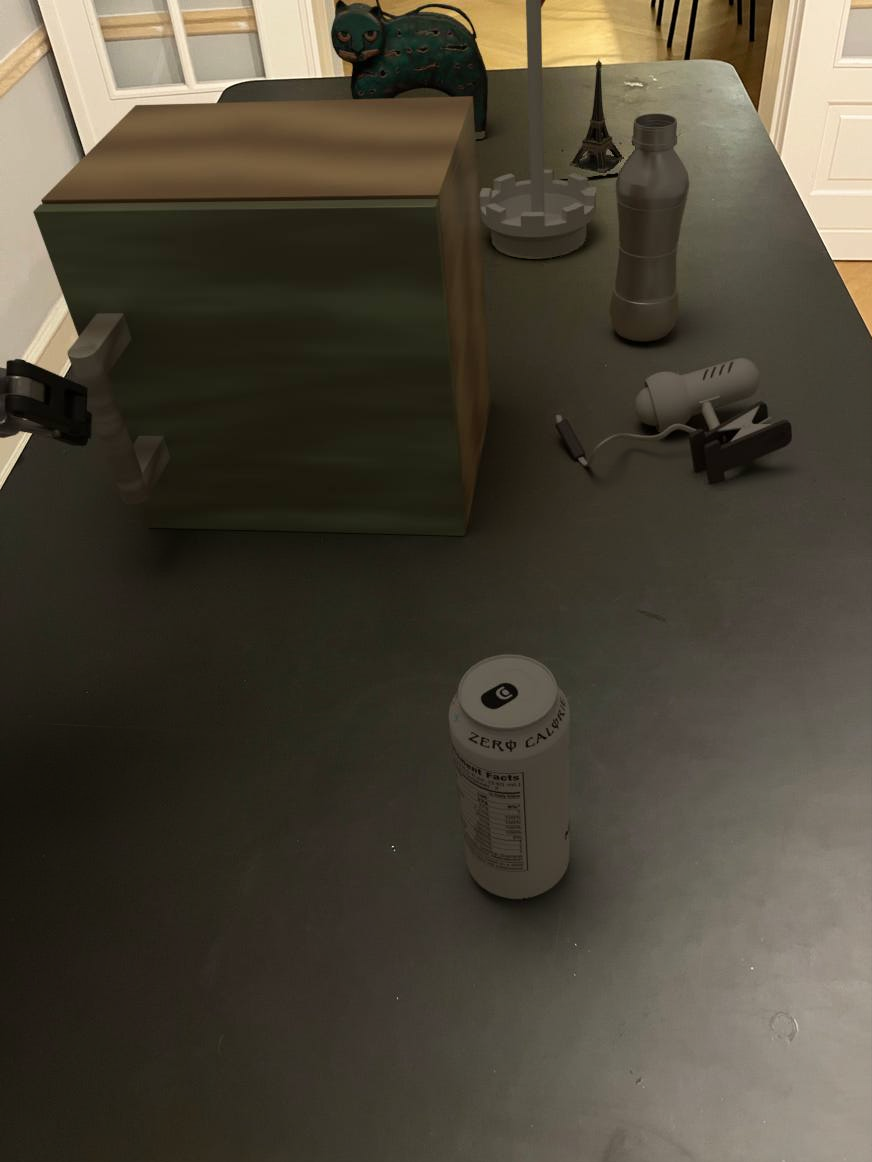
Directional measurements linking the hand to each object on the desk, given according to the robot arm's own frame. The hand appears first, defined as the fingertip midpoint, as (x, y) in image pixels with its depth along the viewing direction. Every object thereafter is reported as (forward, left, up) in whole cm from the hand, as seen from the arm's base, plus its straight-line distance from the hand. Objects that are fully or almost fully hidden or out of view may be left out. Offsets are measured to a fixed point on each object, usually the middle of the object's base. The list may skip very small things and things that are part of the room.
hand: (13, 427), depth 61 cm
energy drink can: (+30, -15, -20) cm, 39 cm away
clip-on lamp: (+39, +27, -20) cm, 52 cm away
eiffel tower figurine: (+31, +91, -20) cm, 99 cm away
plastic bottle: (+37, +47, -20) cm, 64 cm away
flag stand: (+25, +69, -20) cm, 76 cm away
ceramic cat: (+6, +101, -20) cm, 103 cm away
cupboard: (+10, +25, -20) cm, 34 cm away
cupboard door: (+10, +12, -20) cm, 25 cm away
